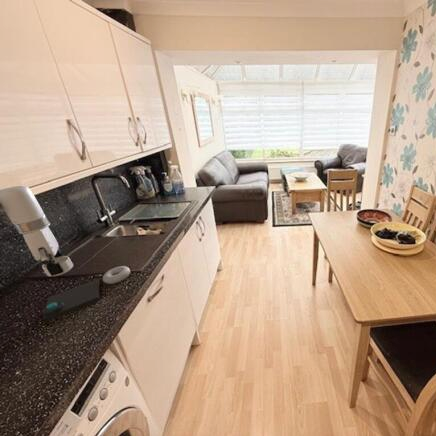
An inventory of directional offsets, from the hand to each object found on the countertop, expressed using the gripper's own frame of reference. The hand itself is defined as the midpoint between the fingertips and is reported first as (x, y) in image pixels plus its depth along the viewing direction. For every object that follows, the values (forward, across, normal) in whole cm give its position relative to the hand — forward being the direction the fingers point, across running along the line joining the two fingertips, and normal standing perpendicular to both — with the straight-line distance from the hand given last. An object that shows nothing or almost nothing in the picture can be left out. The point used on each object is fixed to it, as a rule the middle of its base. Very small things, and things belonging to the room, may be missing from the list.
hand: (59, 268), depth 85 cm
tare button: (+13, +2, -6) cm, 15 cm away
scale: (+16, -2, -1) cm, 16 cm away
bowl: (+1, 0, 0) cm, 1 cm away
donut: (+16, -6, +13) cm, 21 cm away
